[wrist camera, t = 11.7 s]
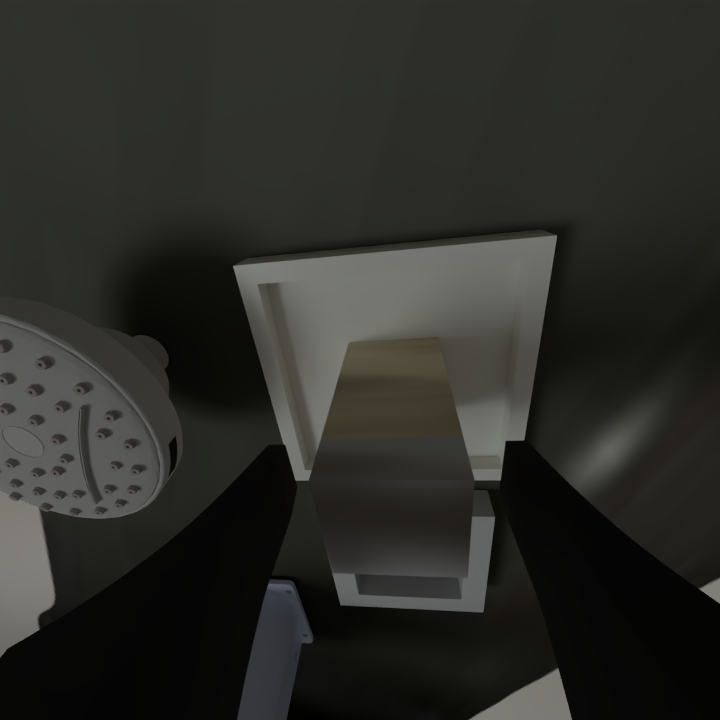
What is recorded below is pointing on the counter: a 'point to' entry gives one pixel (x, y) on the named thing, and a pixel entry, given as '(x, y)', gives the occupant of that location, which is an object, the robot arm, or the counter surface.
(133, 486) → the showerhead
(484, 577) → the holder
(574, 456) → the counter surface
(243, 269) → the tray
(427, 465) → the peg
